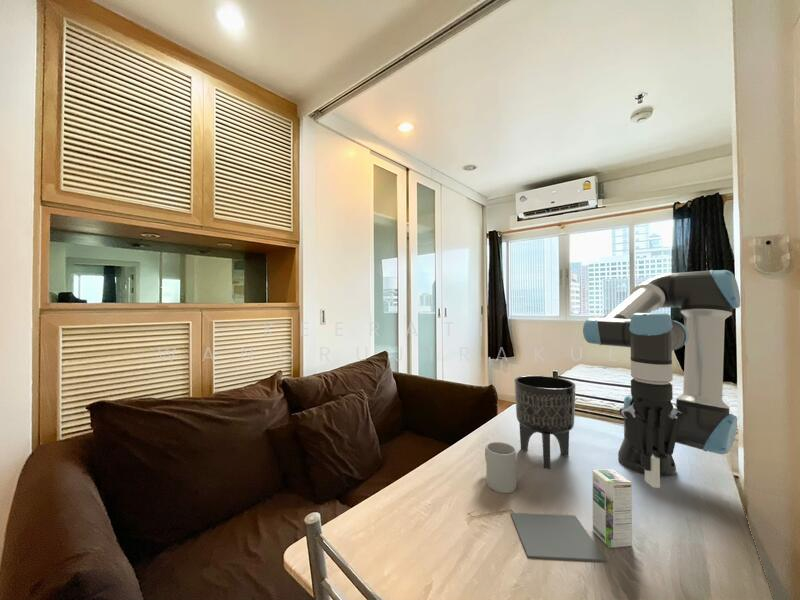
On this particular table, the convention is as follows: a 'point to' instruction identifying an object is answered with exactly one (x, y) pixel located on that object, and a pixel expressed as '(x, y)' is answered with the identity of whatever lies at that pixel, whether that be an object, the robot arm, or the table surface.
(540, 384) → the planter
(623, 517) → the syrup box
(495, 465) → the mug
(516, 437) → the table surface
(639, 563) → the table surface
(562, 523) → the mat
